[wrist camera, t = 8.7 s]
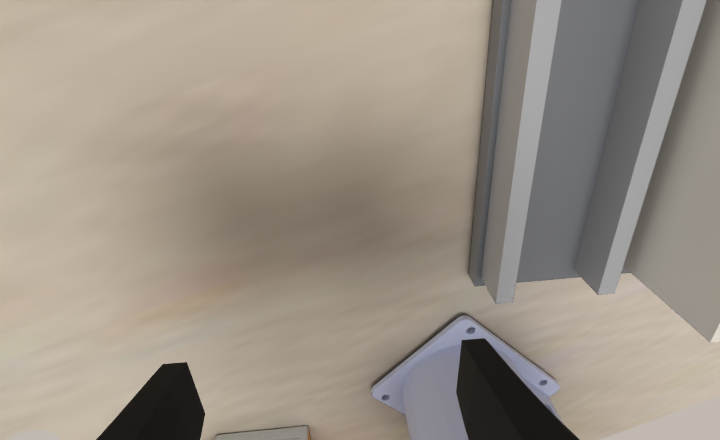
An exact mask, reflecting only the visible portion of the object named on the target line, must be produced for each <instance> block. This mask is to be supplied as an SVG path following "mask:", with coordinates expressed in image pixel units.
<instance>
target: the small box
mask: <svg viewBox="0 0 720 440" xmlns="http://www.w3.org/2000/svg"><path fill="white" fill-rule="evenodd" d="M215 440H311V439H310V433H309V428H308V427H307V426H299V427H290V428H281V429H272V430H261V431H249V432H240V433H231V434H223V435H217V436H216V437H215Z"/></svg>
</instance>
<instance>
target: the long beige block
mask: <svg viewBox="0 0 720 440" xmlns="http://www.w3.org/2000/svg"><path fill="white" fill-rule="evenodd" d="M623 266H624V267H625V268H626V269H627V270H628V271H629V272H631V273H632V274H633V275H634V276H635V277H636V278H637V279H639V280H640V281H641V282H642V283H643V284H644V285H645V286H646V287H648V288H649V289H650V290H651V291H652V292H653V293H654V294H656V295H657V296H658V297H659V298H660V299H661V300H662V301H664V302H665V303H666V304H667V305H668V306H669V307H670V308H671V309H673V310H674V311H675V312H676V313H677V314H678V315H679V316H681V317H682V318H683V319H684V320H685V321H686V322H687V323H689V324H690V325H691V326H692V327H693V328H694V329H695V330H696V331H698V332H699V333H700V334H701V335H702V336H703V337H704V338H706V339H707V340H708V341H709V342H710V343H711V342H720V0H707V1H706V4H705V7H704V10H703V13H702V17H701V20H700V23H699V26H698V29H697V32H696V36H695V39H694V42H693V45H692V48H691V52H690V55H689V58H688V61H687V64H686V68H685V71H684V74H683V77H682V80H681V83H680V87H679V90H678V93H677V96H676V99H675V103H674V106H673V109H672V112H671V115H670V119H669V122H668V125H667V128H666V131H665V134H664V138H663V141H662V144H661V147H660V150H659V154H658V157H657V160H656V163H655V166H654V170H653V173H652V176H651V179H650V182H649V185H648V189H647V192H646V195H645V198H644V201H643V205H642V208H641V211H640V214H639V217H638V220H637V224H636V227H635V230H634V233H633V236H632V240H631V243H630V246H629V249H628V252H627V256H626V259H625V262H624V265H623Z"/></svg>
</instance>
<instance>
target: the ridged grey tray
mask: <svg viewBox="0 0 720 440" xmlns="http://www.w3.org/2000/svg"><path fill="white" fill-rule="evenodd" d="M706 1H707V0H493V6H492V18H491V29H490V40H489V51H488V63H487V74H486V85H485V96H484V108H483V119H482V130H481V141H480V152H479V164H478V175H477V186H476V197H475V209H474V220H473V231H472V242H471V254H470V265H469V276H470V278H471V280H472V282H473V284H474V286H484V285H485V286H486V287H487V289H488V291H489V293H490V295H491V296H492V298H493V300H494V302H495V304H501V303H512V302H513V299H514V292H515V286H516V283H519V282H530V281H542V280H553V279H565V278H576V277H581V278H582V279H583V280H584V281H585V282H586V283H587V284H588V285H589V286H590V287H591V288H592V289H593V290H594V291H595V293H596V294H597V295H603V294H614V293H615V291H616V287H617V284H618V281H619V278H620V275H621V274H622V273H631V272H629V271H628V270H627V269H626V268H625V267H624V266H623V265H624V262H625V259H626V256H627V252H628V249H629V246H630V243H631V240H632V236H633V233H634V230H635V227H636V224H637V220H638V217H639V214H640V211H641V208H642V205H643V201H644V198H645V195H646V192H647V189H648V185H649V182H650V179H651V176H652V173H653V170H654V166H655V163H656V160H657V157H658V154H659V150H660V147H661V144H662V141H663V138H664V134H665V131H666V128H667V125H668V122H669V119H670V115H671V112H672V109H673V106H674V103H675V99H676V96H677V93H678V90H679V87H680V83H681V80H682V77H683V74H684V71H685V68H686V64H687V61H688V58H689V55H690V52H691V48H692V45H693V42H694V39H695V36H696V32H697V29H698V26H699V23H700V20H701V17H702V13H703V10H704V7H705V4H706Z"/></svg>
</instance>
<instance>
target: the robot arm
mask: <svg viewBox="0 0 720 440" xmlns="http://www.w3.org/2000/svg"><path fill="white" fill-rule="evenodd" d="M470 327H472V328H471V329H468V328H470ZM559 388H560V386H559V384H558V382H557V381H556V380H555V379H553V378H552V377H551V376H549V375H548V374H547V373H545V372H544V371H543V370H541V369H540V368H539V367H537V366H536V365H534V364H533V363H532V362H530V361H529V360H528V359H526V358H525V357H524V356H522V355H521V354H520V353H518V352H517V351H515V350H514V349H513V348H511V347H510V346H509V345H507V344H506V343H505V342H503V341H502V340H501V339H499V338H498V337H496V336H495V335H494V334H492V333H491V332H490V331H488V330H487V329H486V328H484V327H483V326H481V325H480V324H479V323H477V322H476V321H475V320H473V319H472V318H471V317H469V316H460V317H458V318H457V319H456V320H454V321H453V322H452V323H451V324H450V325H448V326H447V327H446V328H445V329H443V330H442V331H441V332H440V333H438V334H437V335H436V336H435V337H433V338H432V339H431V340H430V341H429V342H427V343H426V344H425V345H424V346H422V347H421V348H420V349H419V350H417V351H416V352H415V353H414V354H412V355H411V356H410V357H409V358H408V359H406V360H405V361H404V362H403V363H401V364H400V365H399V366H398V367H396V368H395V369H394V370H393V371H391V372H390V373H389V374H388V375H387V376H385V377H384V378H383V379H382V380H380V381H379V382H378V383H377V384H375V385H374V386H373V387H372V389H371V393H372V397H374V398H375V399H377V400H379V401H381V402H382V403H384V404H386V405H388V406H390V407H391V408H393V409H395V410H397V411H399V412H401V413H402V414H404V415H406V420H407V425H408V431H409V436H410V440H579V439H578V438H577V437H576V436H575V435H574V434H573V433H572V432H571V431H570V430H569V429H568V428H567V427H566V426H565V425H564V423H563V421H562V420H561V418H560V416H559V414H558V412H557V411H556V409H555V407H554V405H553V403H552V402H551V400H550V398H549V397H550V396H551V395H553V394H554V393H556V392H557V391H558V390H559ZM204 417H205V412H204V409H203V406H202V404H201V401H200V398H199V395H198V392H197V390H196V387H195V384H194V381H193V378H192V376H191V373H190V370H189V367H188V364H187V362H185V363H172V364H163V365H162V366H161V367H160V368H159V369H158V370H157V371H156V373H155V374H154V375H153V376H152V377H151V378H150V379H149V380H148V382H147V383H146V384H145V385H144V386H143V387H142V389H141V390H140V391H139V392H138V393H137V394H136V395H135V397H134V398H133V399H132V400H131V401H130V402H129V404H128V405H127V406H126V407H125V408H124V409H123V410H122V412H121V413H120V414H119V415H118V416H117V417H116V418H115V419H114V421H113V422H112V423H111V424H110V425H109V426H108V427H107V428H106V430H105V431H104V432H103V433H102V434H101V435H100V436H99V437H98V438H97V440H200V437H201V432H202V427H203V422H204Z"/></svg>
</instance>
